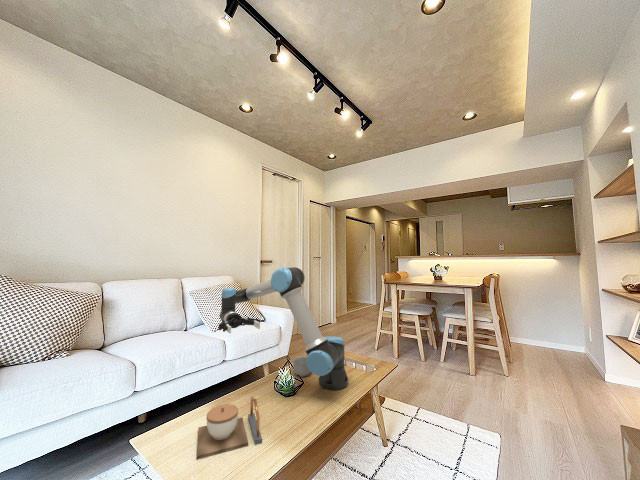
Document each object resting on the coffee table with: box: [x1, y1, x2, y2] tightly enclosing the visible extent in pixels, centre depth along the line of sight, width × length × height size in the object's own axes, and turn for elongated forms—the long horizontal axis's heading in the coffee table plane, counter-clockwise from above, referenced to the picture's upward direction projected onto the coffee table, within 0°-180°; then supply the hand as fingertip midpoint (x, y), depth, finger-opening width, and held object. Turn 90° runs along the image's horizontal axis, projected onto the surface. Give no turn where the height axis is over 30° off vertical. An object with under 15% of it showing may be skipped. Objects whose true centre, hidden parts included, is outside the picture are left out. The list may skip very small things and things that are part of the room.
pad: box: [196, 416, 249, 460], centre depth 95 cm, size 16×16×1 cm
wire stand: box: [247, 412, 263, 446], centre depth 100 cm, size 2×17×1 cm, turn 23°
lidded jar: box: [206, 403, 239, 440], centre depth 96 cm, size 11×11×9 cm
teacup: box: [292, 355, 312, 377], centre depth 150 cm, size 14×11×8 cm
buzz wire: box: [249, 396, 260, 437], centre depth 100 cm, size 1×15×10 cm, turn 23°
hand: (245, 327), depth 124 cm, fingers open, 13 cm apart
